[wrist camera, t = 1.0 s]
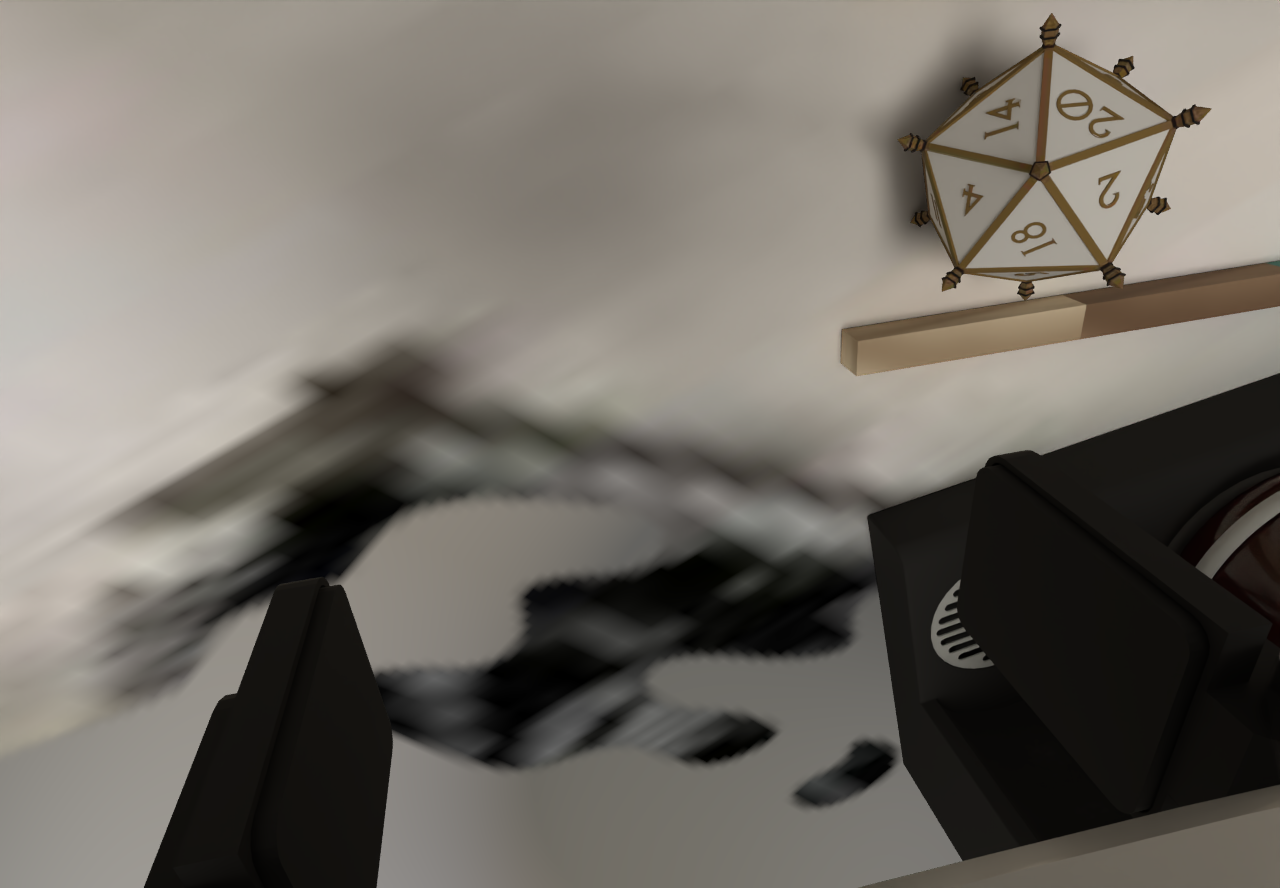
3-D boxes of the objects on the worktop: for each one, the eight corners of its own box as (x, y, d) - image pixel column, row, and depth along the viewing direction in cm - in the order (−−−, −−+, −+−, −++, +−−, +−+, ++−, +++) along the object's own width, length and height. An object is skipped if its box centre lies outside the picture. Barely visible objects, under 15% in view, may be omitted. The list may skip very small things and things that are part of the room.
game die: (875, 161, 32) (823, 148, 24) (1073, 0, 28) (1098, -89, 19) (999, 333, 32) (993, 382, 23) (1218, 197, 28) (1309, 196, 19)
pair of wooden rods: (855, -60, 25) (876, -68, 24) (1599, -126, 29) (1654, -136, 27) (840, 363, 32) (856, 376, 31) (1441, 265, 36) (1478, 273, 34)
